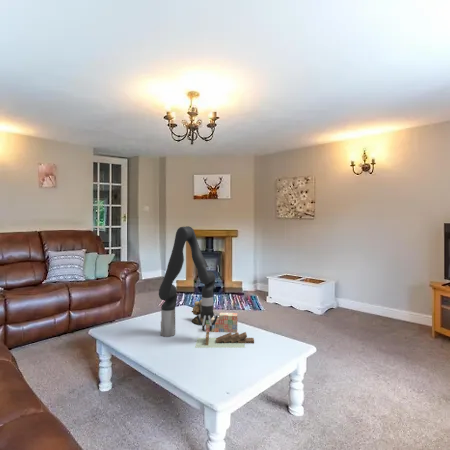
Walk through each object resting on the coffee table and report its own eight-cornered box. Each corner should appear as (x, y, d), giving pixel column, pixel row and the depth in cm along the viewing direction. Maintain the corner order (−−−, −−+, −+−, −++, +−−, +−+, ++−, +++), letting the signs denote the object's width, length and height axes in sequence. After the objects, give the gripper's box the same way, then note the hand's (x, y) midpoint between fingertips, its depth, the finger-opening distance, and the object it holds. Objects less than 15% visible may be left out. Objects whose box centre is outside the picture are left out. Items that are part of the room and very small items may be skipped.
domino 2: (215, 341, 201) (231, 335, 201) (216, 337, 206) (230, 332, 206) (216, 343, 201) (231, 337, 201) (217, 340, 206) (231, 334, 206)
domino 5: (237, 340, 201) (254, 340, 201) (237, 337, 206) (253, 337, 206) (238, 343, 201) (254, 343, 201) (237, 340, 206) (253, 340, 206)
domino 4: (231, 340, 201) (246, 334, 201) (230, 337, 206) (245, 331, 206) (232, 343, 201) (247, 337, 201) (231, 340, 206) (246, 334, 206)
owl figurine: (187, 322, 244) (186, 299, 244) (198, 318, 253) (197, 296, 253) (204, 327, 232) (204, 303, 232) (215, 322, 242) (215, 300, 241)
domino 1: (205, 337, 198) (206, 331, 208) (205, 345, 198) (206, 339, 208) (208, 337, 198) (209, 331, 208) (208, 345, 198) (209, 339, 208)
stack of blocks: (205, 332, 221) (205, 314, 221) (207, 329, 227) (207, 312, 227) (237, 333, 219) (237, 315, 219) (237, 330, 225) (237, 312, 225)
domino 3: (223, 340, 201) (238, 335, 201) (223, 337, 206) (238, 332, 206) (224, 343, 201) (239, 337, 201) (224, 340, 206) (239, 334, 206)
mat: (195, 348, 195) (195, 347, 195) (197, 338, 211) (197, 337, 211) (245, 348, 195) (245, 347, 195) (243, 338, 211) (243, 337, 211)
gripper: (195, 305, 199) (195, 333, 200) (218, 305, 199) (218, 333, 200) (196, 302, 207) (196, 328, 207) (218, 302, 207) (218, 329, 207)
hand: (207, 331), depth 204 cm, fingers open, 3 cm apart
